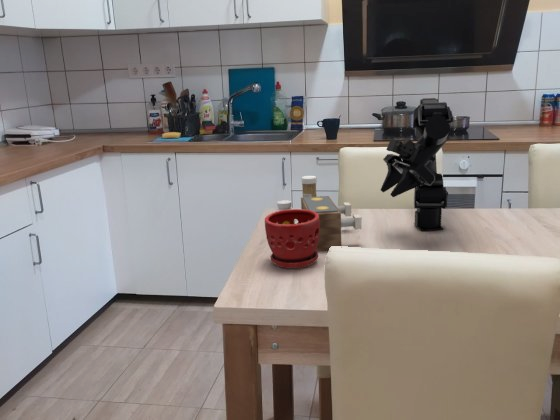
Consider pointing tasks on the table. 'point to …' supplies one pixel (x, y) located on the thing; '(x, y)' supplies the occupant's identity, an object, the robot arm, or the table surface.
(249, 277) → the table surface
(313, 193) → the sprinkles bottle
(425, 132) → the robot arm
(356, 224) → the button
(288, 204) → the supplement bottle
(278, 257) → the plant pot
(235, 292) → the table surface
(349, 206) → the button
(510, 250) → the table surface
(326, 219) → the button box
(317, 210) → the card
